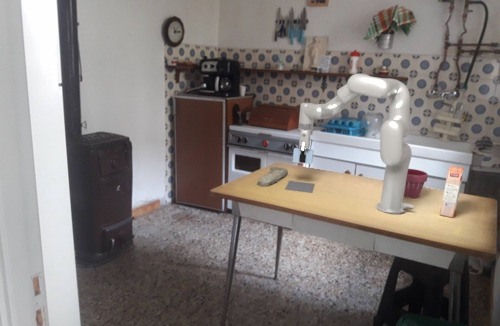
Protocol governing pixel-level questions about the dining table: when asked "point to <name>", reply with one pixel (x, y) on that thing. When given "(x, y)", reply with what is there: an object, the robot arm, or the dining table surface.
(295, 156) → the pale blue upright box
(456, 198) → the cracker box
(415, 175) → the plant pot
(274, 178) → the elongated rough stone
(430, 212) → the dining table surface
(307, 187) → the mat
